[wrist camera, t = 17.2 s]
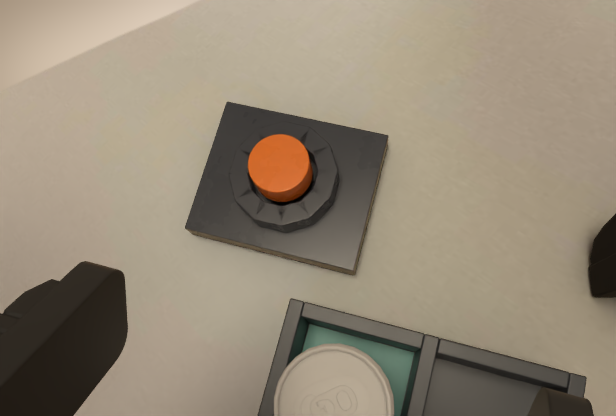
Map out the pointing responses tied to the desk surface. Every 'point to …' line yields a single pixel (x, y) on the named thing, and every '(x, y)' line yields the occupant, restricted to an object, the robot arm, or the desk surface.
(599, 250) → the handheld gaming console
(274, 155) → the button
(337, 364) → the beverage can
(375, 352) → the divided tray
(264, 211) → the panel
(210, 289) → the desk surface
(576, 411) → the robot arm
